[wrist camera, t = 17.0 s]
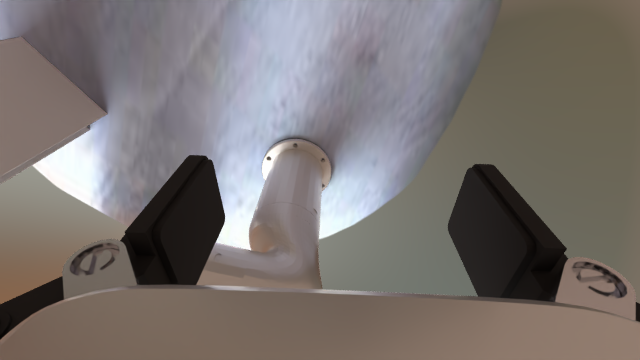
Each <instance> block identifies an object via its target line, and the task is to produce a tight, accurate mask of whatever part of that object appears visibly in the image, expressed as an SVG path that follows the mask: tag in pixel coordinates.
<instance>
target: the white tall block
mask: <svg viewBox="0 0 640 360" xmlns="http://www.w3.org/2000/svg"><path fill="white" fill-rule="evenodd" d="M105 115H107V113H106V112H105V111H104V110H103V109H101V108H100V107H99V106H98V105H97V104H96V103H95V102H94V101H93V100H91V99H90V98H89V97H88V96H87V95H86V94H85V93H84V92H82V91H81V90H80V89H79V88H78V87H77V86H76V85H75V84H74V83H72V82H71V81H70V80H69V79H68V78H67V77H66V76H65V75H64V74H62V73H61V72H60V71H59V70H58V69H57V68H56V67H55V66H53V65H52V64H51V63H50V62H49V61H48V60H47V59H46V58H45V57H43V56H42V55H41V54H40V53H39V52H38V51H37V50H36V49H35V48H33V47H32V46H31V45H30V44H29V43H28V42H27V41H26V40H24V39H23V38H22V37H17V38H11V39H5V40H0V184H2V183H4V182H5V181H7V180H8V179H10V178H12V177H13V176H15V175H16V174H18V173H20V172H22V171H23V170H25V169H27V168H28V167H30V166H32V165H33V164H35V163H36V162H38V161H40V160H41V159H43V158H45V157H46V156H48V155H50V154H51V153H53V152H55V151H56V150H58V149H59V148H61V147H63V146H64V145H66V144H68V143H69V142H71V141H73V140H74V139H76V138H78V137H79V136H81V135H82V134H84V133H86V132H87V131H89V130H90V129H89V128H88V127H87V126H88V125H90V124H92V123H93V122H95V121H97V120H98V119H100V118H102V117H103V116H105Z"/></svg>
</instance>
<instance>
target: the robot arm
mask: <svg viewBox="0 0 640 360" xmlns="http://www.w3.org/2000/svg"><path fill="white" fill-rule="evenodd" d="M295 143H297V144H295ZM322 158H324V159H322ZM262 174H263V177H264V180H265V184H264V186H263V189H262V192H261V195H260V198H259V201H258V204H257V207H256V210H255V212H254V216H253V218H252V221H251V224H250V228H249V243H250V247H251V250H246V249H242V248H237V247H233V246H228V245H224V244H219V243H216V240H217V238H218V236H219V234H220V232H221V229H222V227H223V225H224V222H225V213H224V209H223V205H222V200H221V196H220V191H219V187H218V183H217V178H216V174H215V169H214V165H213V162H212V160H208V158H207V157H206V156H200V155H189V156H188V157H187V158H186V159H185V160H184V162H183V163H182V164H181V165H180V166H179V168H178V169H177V170H176V171H175V172H174V174H173V175H172V176H171V177H170V178H169V180H168V181H167V182H166V183H165V184H164V186H163V187H162V188H161V189H160V190H159V192H158V193H157V194H156V195H155V196H154V198H153V199H152V200H151V201H150V202H149V204H148V205H147V206H146V207H145V208H144V209H143V211H142V212H141V213H140V214H139V215H138V217H137V218H136V219H135V220H134V221H133V223H132V224H131V225H130V226H129V227H128V229H127V230H126V231H125V235H124V237H123V238H122V239H121V240H120V241H119V240H116V239H106V240H100V241H97V242H94V243H91V244H89V245H86V246H84V247H83V248H81V249H79V250H78V251H76V252H75V253H74V254H73V255H72V256H71V257H70V258H69V259H68V260H67V261H66V263H65V264H64V266H63V271H62V275H63V276H62V277H59V278H57V279H55V280H53V281H51V282H49V283H46V284H44V285H42V286H40V287H37V288H35V289H33V290H31V291H29V292H27V293H24V294H22V295H20V296H18V297H16V298H13V299H11V300H9V301H7V302H5V303H3V304H0V360H640V304H639V303H637V302H636V295H635V291H634V289H633V287H632V286H631V284H630V283H629V282H628V281H627V280H626V279H625V278H624V277H623V276H622V275H621V274H620V273H618V272H616V271H615V270H614V269H612V268H610V267H609V266H607V265H605V264H603V263H601V262H598V261H595V260H592V259H589V258H583V257H573V258H570V259H568V258H567V257H566V255H564V252H565V251H566V249H567V248H566V247H565V246H564V245H563V244H562V243H561V242H560V240H559V239H558V238H557V237H556V236H555V235H554V233H553V232H552V231H551V230H550V229H549V228H548V227H547V225H546V224H545V223H544V222H543V221H542V220H541V219H540V217H539V216H538V215H537V214H536V213H535V212H534V211H533V209H532V208H531V207H530V206H529V205H528V204H527V203H526V201H525V200H524V199H523V198H522V197H521V196H520V195H519V193H518V192H517V191H516V190H515V189H514V188H513V187H512V186H511V184H510V183H509V182H508V181H507V180H506V178H505V177H504V176H503V175H502V174H501V173H500V172H499V170H498V169H497V168H496V167H495V166H494V165H489V164H487V165H486V164H475V165H474V166H473V167H472V168H469V169H468V170H467V172H466V175H465V177H464V181H463V183H462V186H461V189H460V191H459V194H458V197H457V200H456V203H455V206H454V208H453V211H452V214H451V217H450V220H449V223H448V231H449V234H450V236H451V238H452V240H453V243H454V245H455V247H456V249H457V251H458V253H459V256H460V258H461V260H462V262H463V264H464V267H465V269H466V271H467V273H468V275H469V277H470V280H471V282H472V284H473V286H474V288H475V290H476V293H477V295H478V297H476V296H455V295H434V294H414V293H392V292H370V291H346V290H345V291H344V290H323V288H322V282H321V276H320V269H319V259H318V258H319V255H318V248H319V227H320V210H321V193H322V191H323V190H324V189H325V188H326V187H327V185H328V183H329V181H330V178H331V164H330V161H329V159H328V157H327V155H326V154H325V152H324V151H323V150H322V149H321V148H320V147H318V146H317V145H315V144H314V143H311V142H309V141H306V140H302V139H287V140H284V141H280V142H278V143H276V144H275V145H273V146H272V147H271V148H270V149H269V150H268V151H267V153H266V155H265V157H264V159H263V162H262Z"/></svg>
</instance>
